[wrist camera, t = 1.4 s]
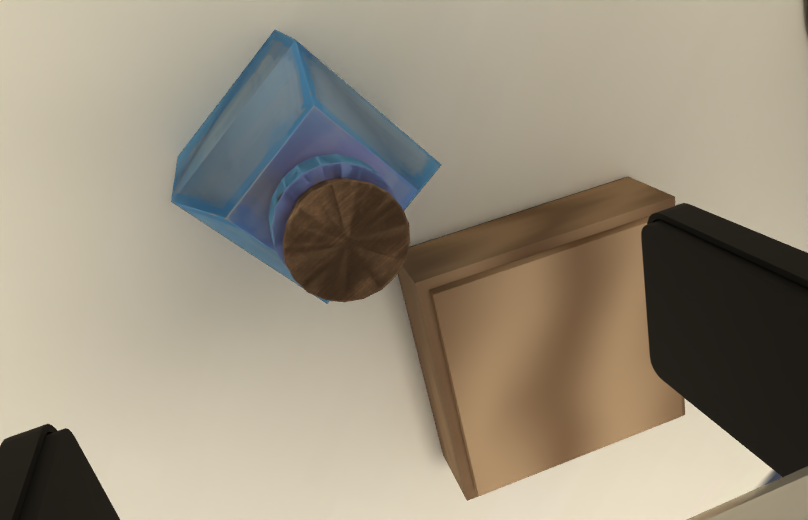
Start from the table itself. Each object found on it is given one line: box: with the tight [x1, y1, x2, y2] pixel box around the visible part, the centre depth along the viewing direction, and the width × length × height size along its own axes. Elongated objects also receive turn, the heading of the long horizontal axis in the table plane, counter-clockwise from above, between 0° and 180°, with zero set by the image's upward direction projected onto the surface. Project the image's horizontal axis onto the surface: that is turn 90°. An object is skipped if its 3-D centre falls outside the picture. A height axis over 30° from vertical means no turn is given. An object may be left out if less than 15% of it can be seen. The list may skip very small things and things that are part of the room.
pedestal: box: [398, 177, 685, 501], centre depth 32 cm, size 12×12×4 cm
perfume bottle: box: [171, 30, 441, 304], centre depth 22 cm, size 6×6×12 cm
